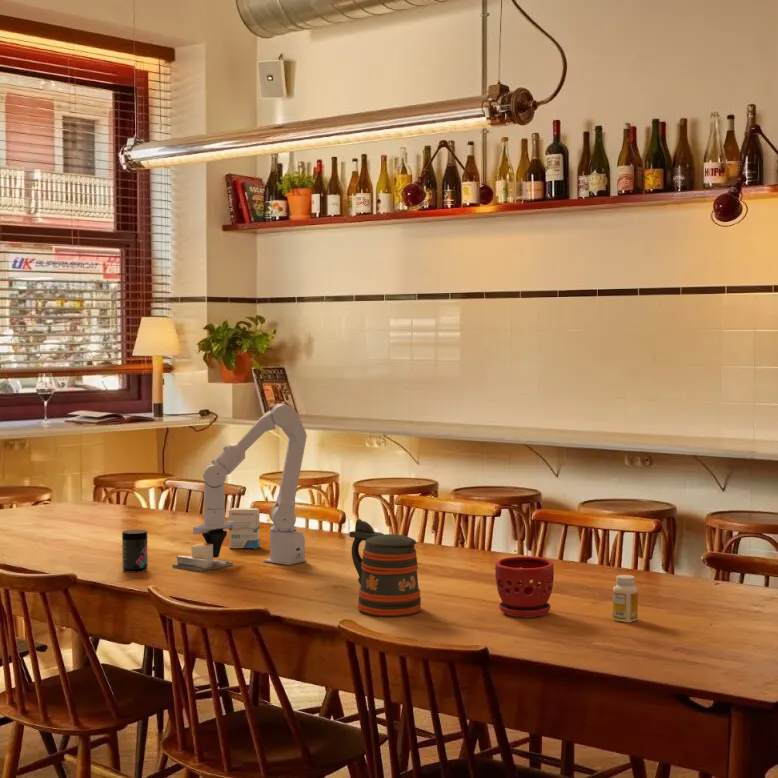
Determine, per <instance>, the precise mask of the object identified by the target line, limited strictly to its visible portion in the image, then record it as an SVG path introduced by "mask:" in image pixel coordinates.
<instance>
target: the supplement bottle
mask: <svg viewBox="0 0 778 778" xmlns="http://www.w3.org/2000/svg"><path fill="white" fill-rule="evenodd" d="M615 579H616V580H615V582H616V585H614V586H613V588H612V619H613V618H614V619H617V620H624V621H633V620H637V621H638V618H639V617H638V611H639V609H638V608H639V607H638V605H639V604H638V603H639V602H638V601H639V600H638V599H639V597H638V596H639V589H638V587H637V586H635V585H634V584H636V583H635V582H636V578H635V576H634V575H631V574H620V575H619V574H618V575H616V578H615ZM614 619H613V620H614Z"/></svg>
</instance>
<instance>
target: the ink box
mask: <svg viewBox="0 0 778 778" xmlns="http://www.w3.org/2000/svg"><path fill="white" fill-rule="evenodd" d="M228 521H235V528H229V529H228V544H229V546H228V549H229V548H253V550H256V549H257V550H258V548H259V547H260V543H261V542H260V540H261V538H260V537H261V536H260V533H261V532H260V508H258V507H257V508H256V507H250V508H249V507H247V508H245V507H244V508H243V507H231V508H230V509H229V510H228Z"/></svg>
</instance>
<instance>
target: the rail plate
mask: <svg viewBox="0 0 778 778" xmlns="http://www.w3.org/2000/svg"><path fill="white" fill-rule="evenodd" d="M233 563H234V562H233V561H226V560H220V559H214V558H213V562H212V559H211V558H207V559H200V558H193V557H192V555H188V556H186V555H176V563H173V564H172V568H174V567H176V568H175V569H180V568H182V569H181V570H186V569H188V570H187V571H192V570H194V572H199V571H200V572H199V573H203V571H204V572H208V571H212V570H211V569H213V570H216V568H217V569H220V568H221V567H222V568H226V567H225V566H227V567H230V566H229V565H231V566H233V565H234V564H233ZM222 568H221V569H222ZM207 570H208V571H207Z"/></svg>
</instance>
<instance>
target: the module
mask: <svg viewBox="0 0 778 778" xmlns="http://www.w3.org/2000/svg"><path fill="white" fill-rule="evenodd" d="M191 556H192V557H193V558H200V559H207V558H211V559H212V562H213V559H214V557H213V544H207V543H206V542H205V543H203V542H201V543H197V544H194V545H192V546H191Z"/></svg>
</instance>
